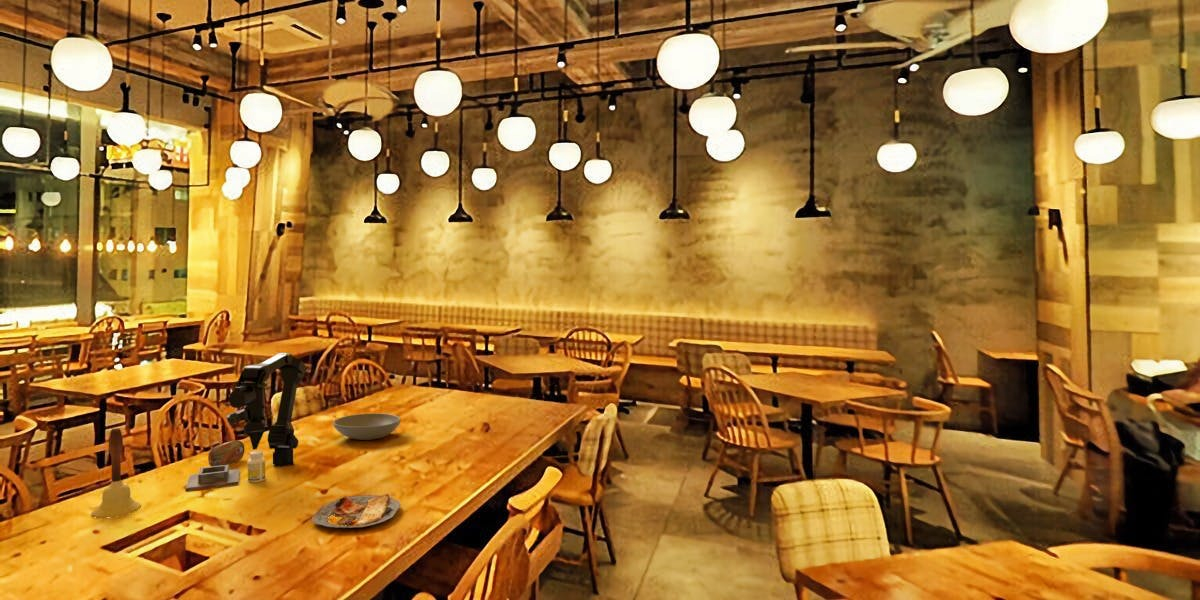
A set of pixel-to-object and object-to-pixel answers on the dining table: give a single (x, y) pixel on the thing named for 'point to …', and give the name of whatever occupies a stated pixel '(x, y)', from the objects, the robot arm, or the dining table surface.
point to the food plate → (358, 510)
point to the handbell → (116, 485)
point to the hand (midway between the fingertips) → (255, 445)
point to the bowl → (367, 425)
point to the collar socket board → (213, 478)
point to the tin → (226, 453)
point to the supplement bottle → (256, 467)
